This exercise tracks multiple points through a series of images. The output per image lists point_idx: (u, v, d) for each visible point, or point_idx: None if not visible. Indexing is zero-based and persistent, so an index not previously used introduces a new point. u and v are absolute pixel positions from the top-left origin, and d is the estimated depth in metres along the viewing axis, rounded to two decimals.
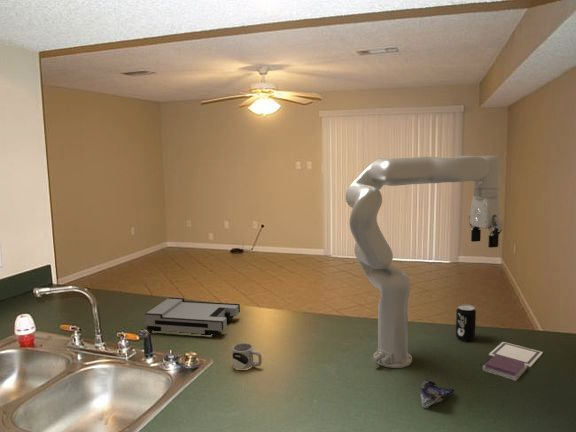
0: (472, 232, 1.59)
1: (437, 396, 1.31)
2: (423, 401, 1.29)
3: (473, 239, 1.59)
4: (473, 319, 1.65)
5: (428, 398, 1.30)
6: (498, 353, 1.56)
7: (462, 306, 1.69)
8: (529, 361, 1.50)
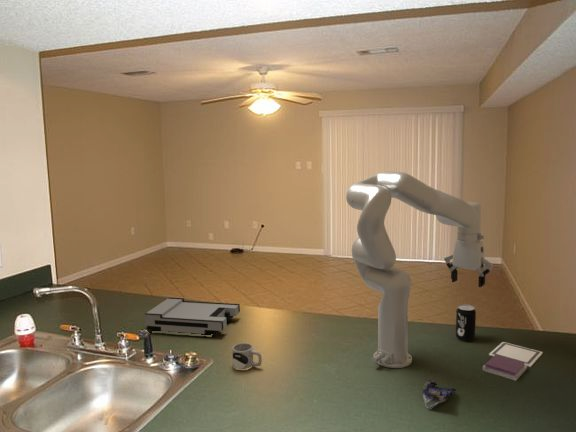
0: None
1: (439, 396, 1.31)
2: (426, 402, 1.28)
3: None
4: (473, 319, 1.65)
5: (430, 399, 1.30)
6: (498, 353, 1.56)
7: (462, 306, 1.69)
8: (529, 361, 1.50)
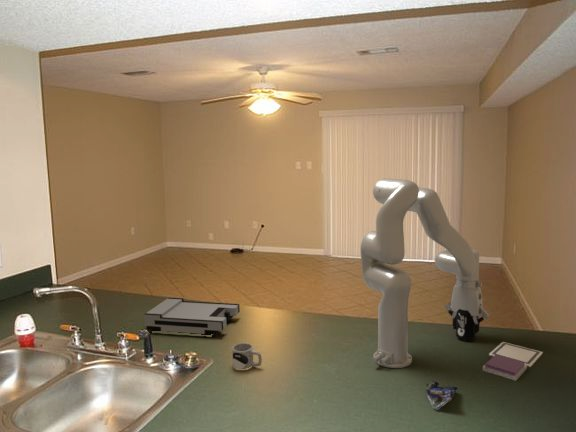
0: None
1: (442, 396, 1.31)
2: (432, 403, 1.28)
3: None
4: None
5: (435, 399, 1.30)
6: (498, 353, 1.56)
7: None
8: (529, 361, 1.50)
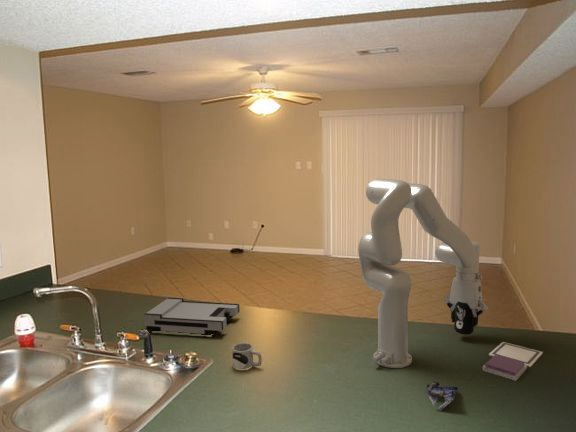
0: None
1: None
2: None
3: None
4: None
5: (436, 399, 1.30)
6: (498, 353, 1.56)
7: None
8: (529, 361, 1.50)
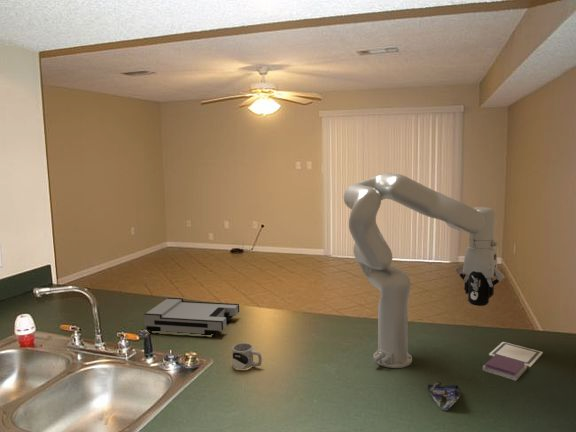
0: None
1: (445, 395, 1.31)
2: (438, 403, 1.27)
3: None
4: (487, 281, 1.55)
5: (440, 399, 1.29)
6: (498, 353, 1.56)
7: None
8: (529, 361, 1.50)
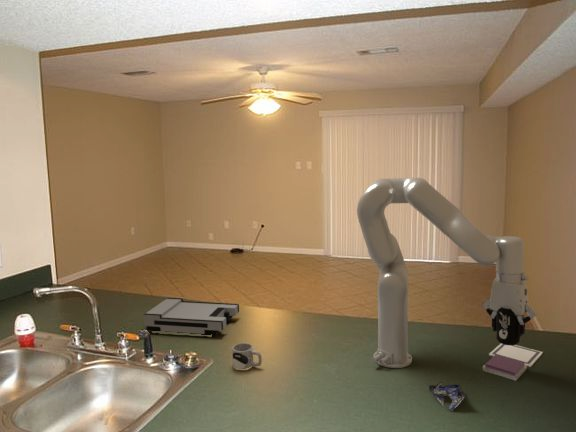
0: None
1: None
2: None
3: None
4: None
5: (443, 400, 1.29)
6: (498, 353, 1.56)
7: None
8: (529, 361, 1.50)
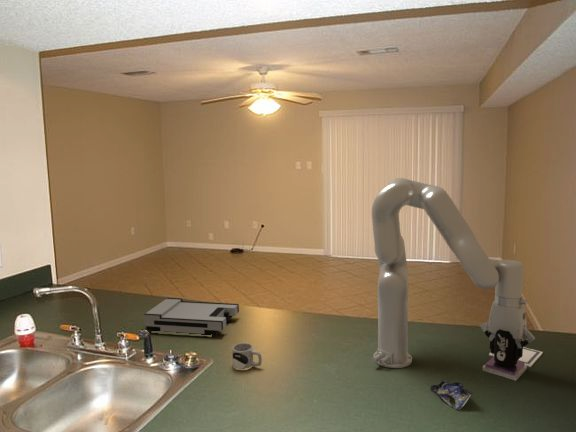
0: None
1: (450, 394, 1.32)
2: (449, 404, 1.27)
3: None
4: None
5: (448, 399, 1.30)
6: None
7: None
8: (529, 361, 1.50)
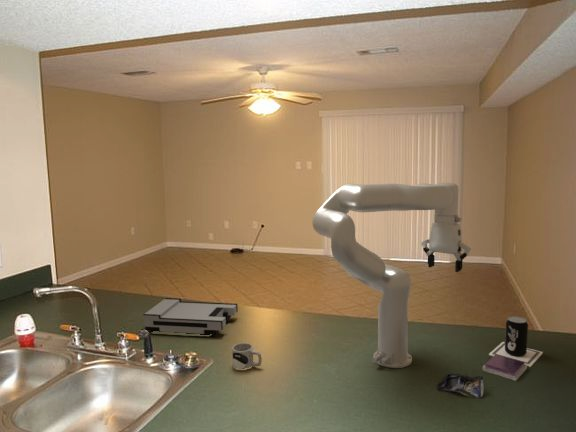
0: None
1: None
2: None
3: None
4: (525, 332, 1.52)
5: (461, 392, 1.33)
6: (498, 353, 1.56)
7: (512, 318, 1.56)
8: (529, 361, 1.50)
